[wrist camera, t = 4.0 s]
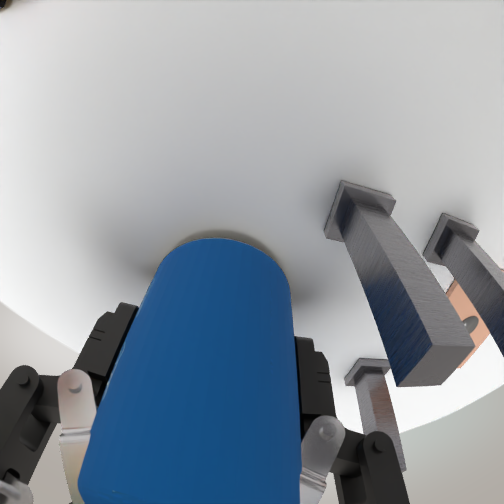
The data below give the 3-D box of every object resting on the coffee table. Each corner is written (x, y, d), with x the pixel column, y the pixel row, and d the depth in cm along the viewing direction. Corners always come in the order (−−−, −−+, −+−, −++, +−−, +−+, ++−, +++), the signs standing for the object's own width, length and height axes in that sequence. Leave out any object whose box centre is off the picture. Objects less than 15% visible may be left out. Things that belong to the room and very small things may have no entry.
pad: (523, 276, 14) (526, 281, 13) (458, 364, 18) (460, 369, 18) (466, 258, 13) (470, 263, 13) (395, 364, 18) (397, 369, 17)
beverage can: (185, 204, 12) (50, 525, 2) (315, 266, 14) (357, 555, 4) (145, 303, 15) (71, 517, 5) (250, 345, 17) (238, 554, 7)
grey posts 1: (391, 195, 12) (496, 332, 5) (302, 375, 18) (309, 488, 12) (341, 180, 11) (429, 328, 5) (267, 371, 18) (265, 488, 11)
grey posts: (473, 225, 12) (565, 334, 5) (373, 379, 19) (393, 479, 12) (442, 213, 12) (544, 334, 5) (344, 378, 19) (360, 484, 12)
